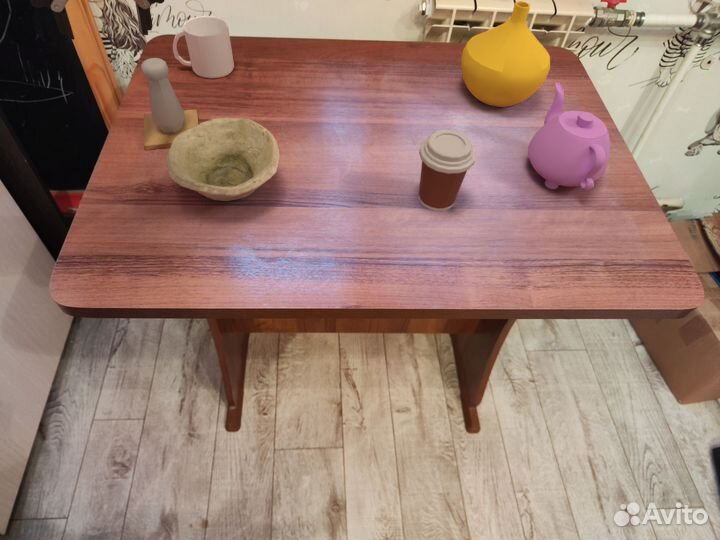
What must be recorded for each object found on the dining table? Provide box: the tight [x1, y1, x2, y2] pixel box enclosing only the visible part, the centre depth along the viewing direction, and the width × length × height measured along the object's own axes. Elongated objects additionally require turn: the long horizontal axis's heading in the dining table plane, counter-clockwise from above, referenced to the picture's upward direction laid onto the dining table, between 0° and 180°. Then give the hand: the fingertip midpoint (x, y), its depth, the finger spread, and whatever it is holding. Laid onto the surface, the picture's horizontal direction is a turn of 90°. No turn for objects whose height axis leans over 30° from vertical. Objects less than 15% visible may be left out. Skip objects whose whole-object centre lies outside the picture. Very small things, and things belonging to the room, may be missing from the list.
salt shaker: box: [140, 57, 185, 133], centre depth 88 cm, size 6×6×13 cm
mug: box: [172, 15, 235, 80], centre depth 104 cm, size 12×9×9 cm
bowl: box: [165, 117, 280, 202], centre depth 80 cm, size 14×18×15 cm
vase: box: [460, 0, 551, 108], centre depth 101 cm, size 18×18×19 cm
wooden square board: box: [143, 108, 200, 151], centre depth 93 cm, size 10×10×1 cm
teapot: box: [527, 81, 611, 191], centre depth 88 cm, size 20×14×12 cm
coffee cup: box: [417, 129, 477, 212], centre depth 81 cm, size 9×9×12 cm
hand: (108, 33), depth 61 cm, fingers open, 8 cm apart
